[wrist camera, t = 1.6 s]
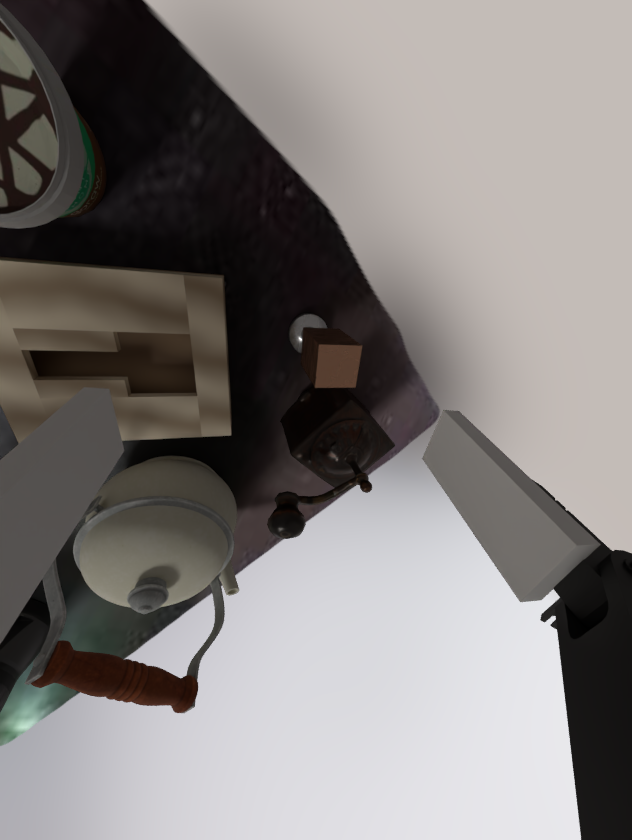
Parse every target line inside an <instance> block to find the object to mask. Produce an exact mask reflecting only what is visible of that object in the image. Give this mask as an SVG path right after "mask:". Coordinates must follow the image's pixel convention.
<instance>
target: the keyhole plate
mask: <svg viewBox="0 0 632 840" xmlns="http://www.w3.org/2000/svg"><path fill="white" fill-rule="evenodd" d="M84 387H88V388H104V389H109V390H110V394H111V399H112V403H113V407H114V411H115V415H116V419H117V423H118V427H119V431H120V435H121V439H122V441H127V440H148V439H169V438H191V437H212V436H231V430H232V411H231V393H230V375H229V357H228V339H227V321H226V303H225V285H224V275H216V274H204V273H192V272H180V271H168V270H156V269H144V268H131V267H119V266H107V265H95V264H83V263H71V262H59V261H47V260H35V259H22V258H10V257H0V405H1V407H2V409H3V411H4V414H5V416H6V418H7V420H8V422H9V424H10V426H11V428H12V431H13V433H14V435H15V437H16V439H17V441H18V443H20V442H22V441H23V440H24V439H25V438H26V437H27V436H29V435H30V434H31V433H32V432H33V431H34V430H35V429H37V428H38V427H39V426H40V425H41V424H42V423H43V422H45V421H46V420H47V419H48V418H49V417H50V416H52V415H53V414H54V413H55V412H56V411H57V410H58V409H60V408H61V407H62V406H63V405H64V404H65V403H67V402H68V401H69V400H70V399H71V398H72V397H73V396H75V395H76V394H77V393H78V392H79V391H80V390H82V389H83V388H84Z"/></svg>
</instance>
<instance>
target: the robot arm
mask: <svg viewBox="0 0 632 840" xmlns="http://www.w3.org/2000/svg"><path fill="white" fill-rule="evenodd" d="M123 452H124V447H123V443H122V439H121V435H120V431H119V427H118V423H117V419H116V415H115V411H114V407H113V403H112V399H111V394H110V390H109V389H104V388H88V387H84V388H83V389H82V390H80V391H79V392H78V393H77V394H76V395H75V396H73V397H72V398H71V399H70V400H69V401H68V402H67V403H65V404H64V405H63V406H62V407H61V408H60V409H58V410H57V411H56V412H55V413H54V414H53V415H52V416H50V417H49V418H48V419H47V420H46V421H45V422H43V423H42V424H41V425H40V426H39V427H38V428H37V429H35V430H34V431H33V432H32V433H31V434H30V435H29V436H27V437H26V438H25V439H24V440H23V441H22V442H20V443H19V444H18V445H17V446H16V447H15V448H14V449H12V450H11V451H10V452H9V453H8V454H7V455H5V456H4V457H3V458H2V459H1V460H0V712H1V710H2V708H3V706H4V705H5V703H6V701H7V699H8V696H9V694H10V692H11V691H12V689H13V687H14V685H15V683H16V681H17V680H18V678H19V677H20V676H21V674H22V673H23V672H24V671H25V670H26V669H27V667H28V666H29V665H30V664H31V663H32V661H33V660H34V659H35V658H36V656H37V655H38V654H39V653H40V651H41V649H42V647H43V645H44V643H45V640H46V638H47V635H48V633H49V630H50V624H51V618H50V612H49V607H48V606H46V605H45V604H43V603H40V602H38V601H35V600H32V599H30V597H31V596H32V594H33V593H34V591H35V589H36V588H37V586H38V585H39V583H40V582H41V580H42V578H43V577H44V575H45V574H46V572H47V571H48V569H49V568H50V566H51V564H52V563H53V561H54V560H55V558H56V557H57V555H58V553H59V552H60V550H61V549H62V547H63V546H64V544H65V543H66V541H67V539H68V538H69V536H70V535H71V533H72V532H73V530H74V528H75V527H76V525H77V524H78V522H79V521H80V519H81V518H82V516H83V514H84V513H85V511H86V510H87V508H88V507H89V505H90V504H91V502H92V500H93V499H94V497H95V496H96V494H97V493H98V491H99V489H100V488H101V486H102V485H103V483H104V482H105V480H106V479H107V477H108V475H109V474H110V472H111V471H112V469H113V468H114V466H115V464H116V463H117V461H118V460H119V458H120V457H121V455H122V454H123ZM422 459H423V460H424V462H425V463H426V465H427V466H428V468H429V469H430V470H431V472H432V473H433V475H434V477H435V478H436V479H437V481H438V482H439V484H440V485H441V487H442V488H443V490H444V491H445V493H446V494H447V496H448V497H449V498H450V500H451V501H452V503H453V504H454V506H455V507H456V509H457V510H458V512H459V513H460V514H461V516H462V518H463V519H464V520H465V522H466V523H467V525H468V526H469V528H470V529H471V531H472V532H473V534H474V535H475V537H476V538H477V539H478V541H479V542H480V544H481V545H482V547H483V548H484V550H485V551H486V553H487V554H488V556H489V557H490V559H491V560H492V561H493V563H494V564H495V566H496V567H497V569H498V570H499V572H500V573H501V575H502V576H503V577H504V579H505V580H506V582H507V583H508V585H509V586H510V588H511V589H512V591H513V592H514V594H515V595H516V597H517V598H518V599H519V601H520V602H526V601H537V600H542V599H543V598H544V597H545V596H546V595H547V594H548V593H549V592H550V591H551V590H553V589H554V590H555V591H556V593H557V594H558V595H559V596H560V598H559V599H558V600H557V601H556V602H555V603H554V604H553V605H552V606H550V607H549V608H548V609H547V610H546V611H545V612H544V613H542V615H541V621H543V622H546V621H547V620H548V619H549V618H550V617H551V616H556V620H555V621H554V622H553V623H552V624H551V626H552V627H553V628H555V629H557V632H558V640H559V649H560V658H561V666H562V675H563V684H564V692H565V701H566V710H567V718H568V727H569V736H570V745H571V753H572V762H573V771H574V779H575V788H576V795H577V796H576V797H577V805H578V813H579V822H580V831H581V840H632V553H629V552H626V551H621V550H614V551H612V550H610V549H609V548H608V547H607V546H606V545H605V544H604V543H603V542H601V541H600V540H599V539H598V538H597V537H596V536H595V535H594V534H593V533H592V532H591V531H590V530H589V529H588V528H587V527H585V526H584V525H583V524H582V523H581V522H580V521H579V520H578V519H577V518H576V517H575V516H574V515H573V514H571V513H570V512H569V511H566V510H565V507H564V506H563V505H562V504H561V503H560V502H559V501H555V498H554V497H553V496H552V495H551V494H550V493H549V492H548V491H547V490H546V489H544V488H543V487H542V486H541V485H539V484H538V483H536V482H535V481H533V480H532V479H530V478H529V477H528V476H527V475H526V474H525V473H524V472H523V471H522V470H521V469H520V468H519V467H518V466H517V465H515V464H514V463H513V462H512V461H511V460H510V459H509V458H508V457H507V456H506V455H505V454H504V453H503V452H502V451H501V450H500V449H499V448H497V447H496V446H495V445H494V444H493V443H492V442H491V441H490V440H489V439H488V438H487V437H486V436H485V435H484V434H483V433H481V432H480V431H479V430H478V429H477V428H476V427H475V426H474V425H473V424H472V423H471V422H470V421H469V420H468V419H467V418H466V417H464V416H463V415H462V414H461V413H460V412H459V411H449V410H443V412H442V415H441V417H440V419H439V421H438V424H437V426H436V429H435V431H434V433H433V435H432V438H431V440H430V442H429V444H428V447H427V449H426V451H425V453H424V456H423V458H422Z"/></svg>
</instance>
